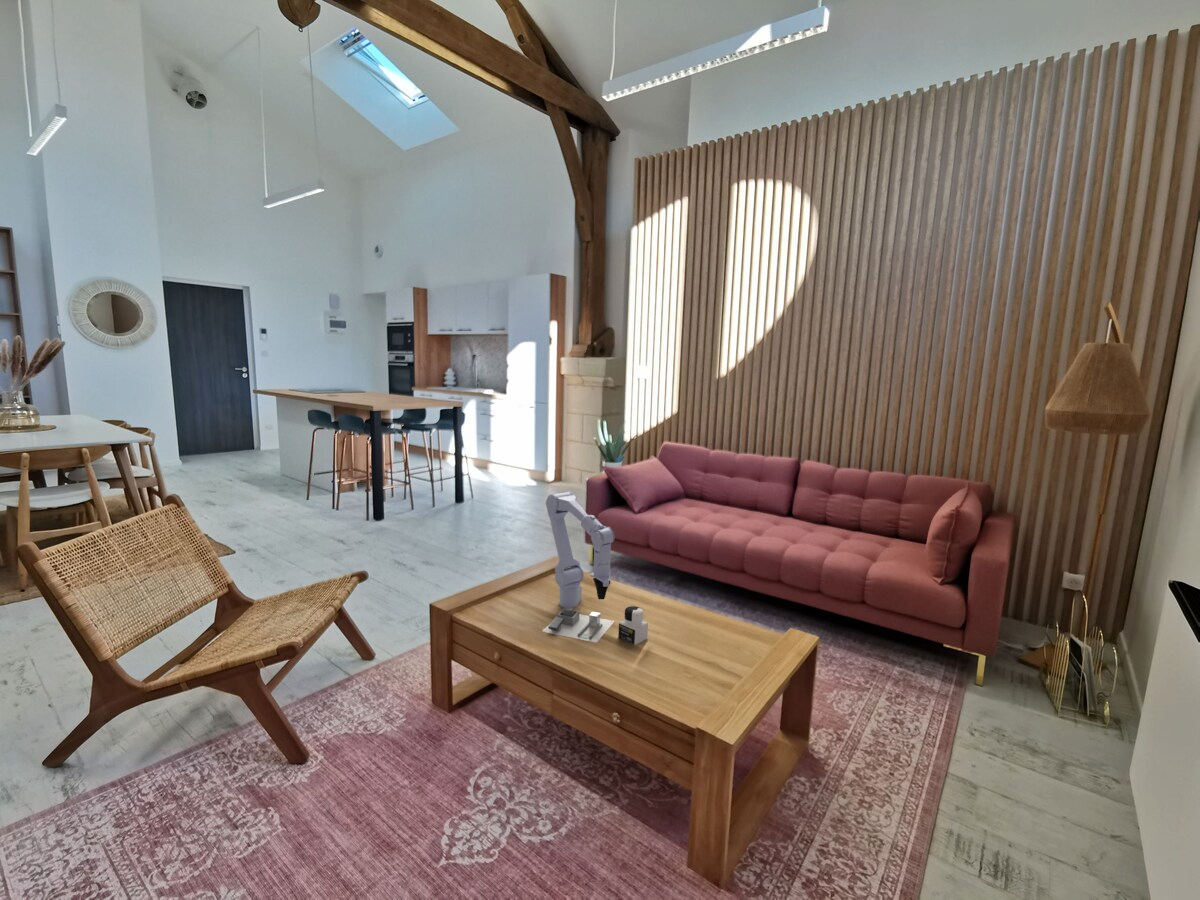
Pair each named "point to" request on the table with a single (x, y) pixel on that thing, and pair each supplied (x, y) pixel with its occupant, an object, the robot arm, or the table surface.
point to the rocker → (556, 623)
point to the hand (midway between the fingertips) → (601, 598)
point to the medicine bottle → (633, 626)
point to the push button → (568, 611)
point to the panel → (580, 627)
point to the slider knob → (594, 619)
